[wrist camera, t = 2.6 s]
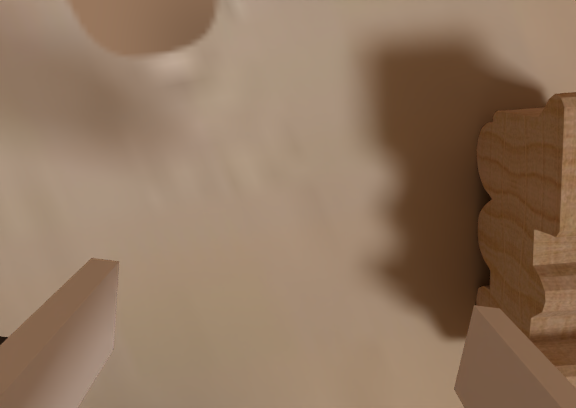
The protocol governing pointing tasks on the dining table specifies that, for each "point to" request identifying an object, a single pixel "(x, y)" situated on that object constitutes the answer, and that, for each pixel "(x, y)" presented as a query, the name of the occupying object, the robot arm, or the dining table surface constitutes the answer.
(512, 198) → the carved wooden block
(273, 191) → the dining table surface
